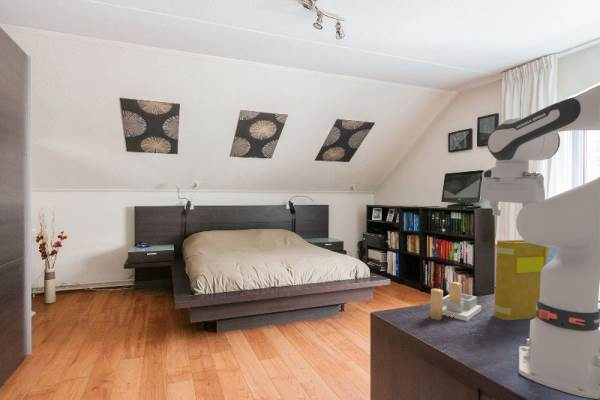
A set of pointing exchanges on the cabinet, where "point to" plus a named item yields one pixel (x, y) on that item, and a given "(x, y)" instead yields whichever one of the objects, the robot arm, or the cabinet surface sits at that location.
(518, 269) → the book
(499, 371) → the cabinet surface
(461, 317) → the housing
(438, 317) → the tan wooden block
